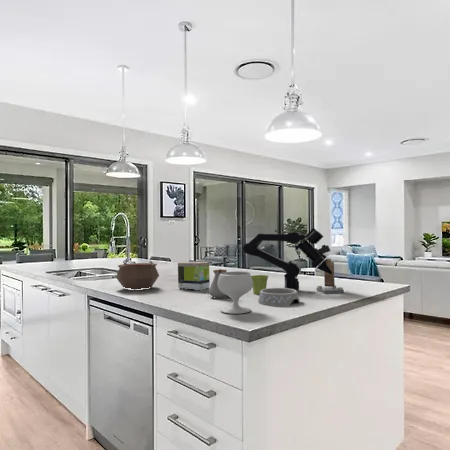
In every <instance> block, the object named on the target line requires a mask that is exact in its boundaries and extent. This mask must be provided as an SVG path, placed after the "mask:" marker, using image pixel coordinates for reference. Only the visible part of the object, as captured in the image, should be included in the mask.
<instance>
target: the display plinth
mask: <svg viewBox="0 0 450 450" xmlns="http://www.w3.org/2000/svg"><path fill="white" fill-rule="evenodd" d="M316 291H317V292H319V293H321V294H324V295H327V294H328V295H329V294H345V289H344V287H343V286H342V287H341V286H338V287H337V285H335V286H334V287H326V286H324V287H323V286H322V285H317V286H316Z"/></svg>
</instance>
